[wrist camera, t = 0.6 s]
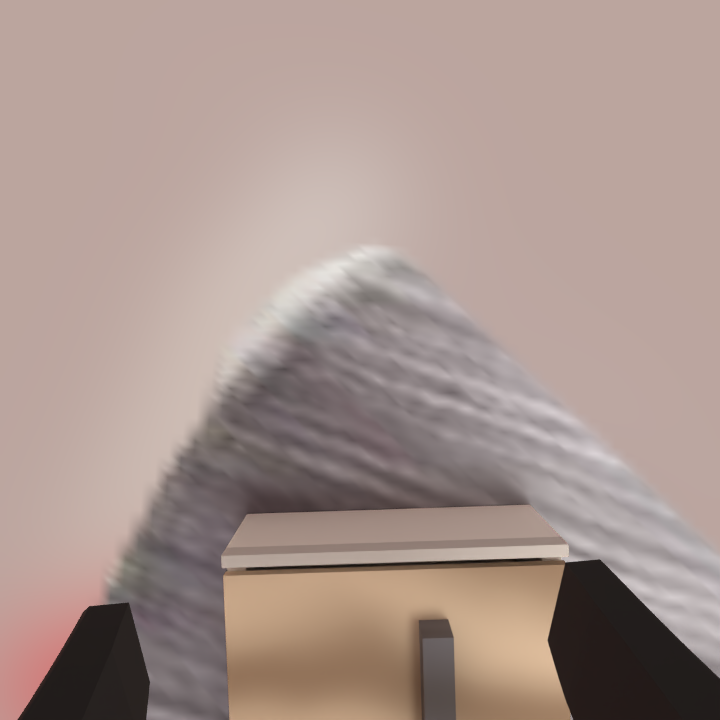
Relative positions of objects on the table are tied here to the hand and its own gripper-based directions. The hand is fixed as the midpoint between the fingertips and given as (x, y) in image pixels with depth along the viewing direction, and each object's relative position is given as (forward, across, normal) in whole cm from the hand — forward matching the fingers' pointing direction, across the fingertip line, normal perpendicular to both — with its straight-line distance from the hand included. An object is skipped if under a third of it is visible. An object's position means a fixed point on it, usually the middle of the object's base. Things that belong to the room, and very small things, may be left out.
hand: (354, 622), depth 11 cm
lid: (+9, -3, +16) cm, 19 cm away
